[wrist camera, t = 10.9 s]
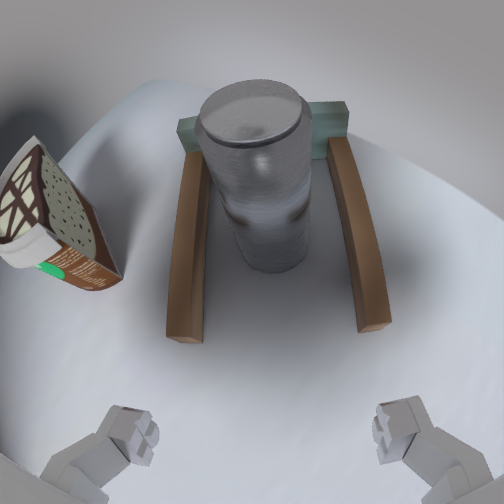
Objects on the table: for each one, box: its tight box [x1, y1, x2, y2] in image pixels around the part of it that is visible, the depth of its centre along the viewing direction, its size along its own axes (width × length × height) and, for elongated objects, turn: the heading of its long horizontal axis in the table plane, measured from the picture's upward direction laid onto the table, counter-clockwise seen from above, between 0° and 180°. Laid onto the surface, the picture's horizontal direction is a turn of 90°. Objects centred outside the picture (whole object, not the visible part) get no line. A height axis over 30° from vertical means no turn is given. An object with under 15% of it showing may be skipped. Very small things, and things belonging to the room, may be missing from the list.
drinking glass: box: [194, 80, 312, 273], centre depth 15 cm, size 5×5×12 cm
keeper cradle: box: [166, 101, 392, 343], centre depth 19 cm, size 13×16×5 cm
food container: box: [0, 136, 123, 291], centre depth 18 cm, size 12×6×10 cm, turn 35°
